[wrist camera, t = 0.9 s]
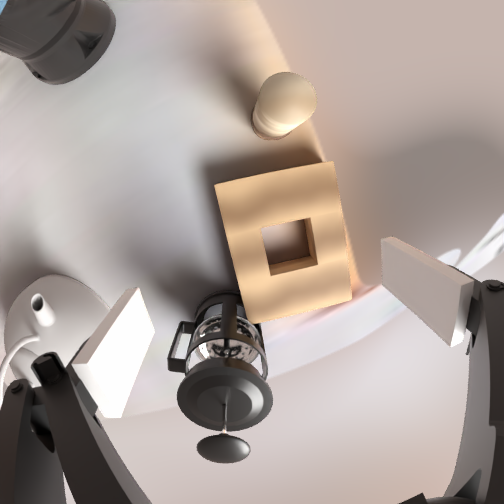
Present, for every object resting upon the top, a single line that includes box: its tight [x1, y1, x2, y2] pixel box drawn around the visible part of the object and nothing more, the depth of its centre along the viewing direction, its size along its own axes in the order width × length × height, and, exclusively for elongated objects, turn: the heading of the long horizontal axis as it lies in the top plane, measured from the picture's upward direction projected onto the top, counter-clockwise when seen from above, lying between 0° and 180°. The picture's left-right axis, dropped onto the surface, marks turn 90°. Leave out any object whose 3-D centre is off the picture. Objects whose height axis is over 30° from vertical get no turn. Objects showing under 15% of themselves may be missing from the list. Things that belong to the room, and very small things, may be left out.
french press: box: [167, 291, 273, 463], centre depth 29 cm, size 12×9×23 cm
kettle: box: [0, 275, 111, 431], centre depth 29 cm, size 25×23×22 cm
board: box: [214, 161, 352, 324], centre depth 36 cm, size 18×14×4 cm
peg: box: [251, 72, 317, 140], centre depth 27 cm, size 5×5×14 cm
